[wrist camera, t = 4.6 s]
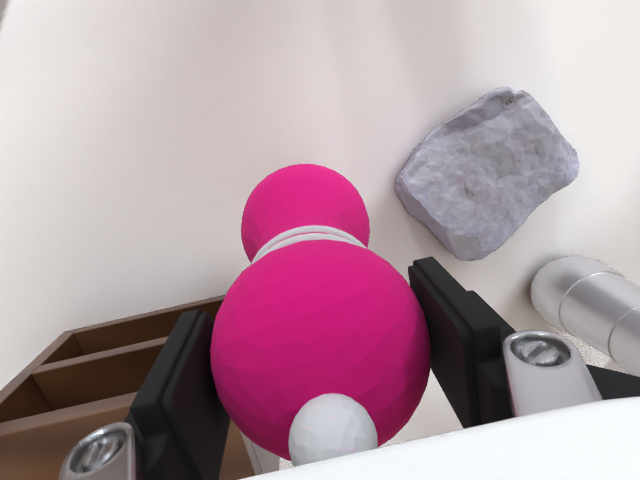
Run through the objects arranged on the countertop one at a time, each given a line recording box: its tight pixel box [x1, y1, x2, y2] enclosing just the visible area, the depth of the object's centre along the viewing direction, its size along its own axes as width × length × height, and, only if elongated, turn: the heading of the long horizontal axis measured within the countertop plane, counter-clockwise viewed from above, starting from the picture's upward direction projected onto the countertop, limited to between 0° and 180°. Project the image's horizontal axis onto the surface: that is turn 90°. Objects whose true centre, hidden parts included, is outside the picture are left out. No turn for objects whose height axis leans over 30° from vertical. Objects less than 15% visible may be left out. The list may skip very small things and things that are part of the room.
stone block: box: [395, 86, 579, 261], centre depth 29 cm, size 12×5×10 cm
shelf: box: [0, 295, 280, 480], centre depth 28 cm, size 12×16×12 cm
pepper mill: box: [210, 164, 431, 467], centre depth 16 cm, size 7×7×20 cm
